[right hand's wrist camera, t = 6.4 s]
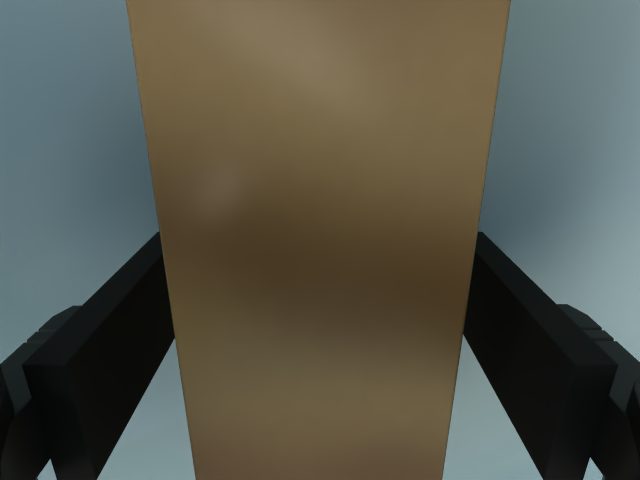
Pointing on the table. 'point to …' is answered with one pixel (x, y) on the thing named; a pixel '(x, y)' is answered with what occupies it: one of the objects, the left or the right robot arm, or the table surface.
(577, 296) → the table surface
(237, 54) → the beam
